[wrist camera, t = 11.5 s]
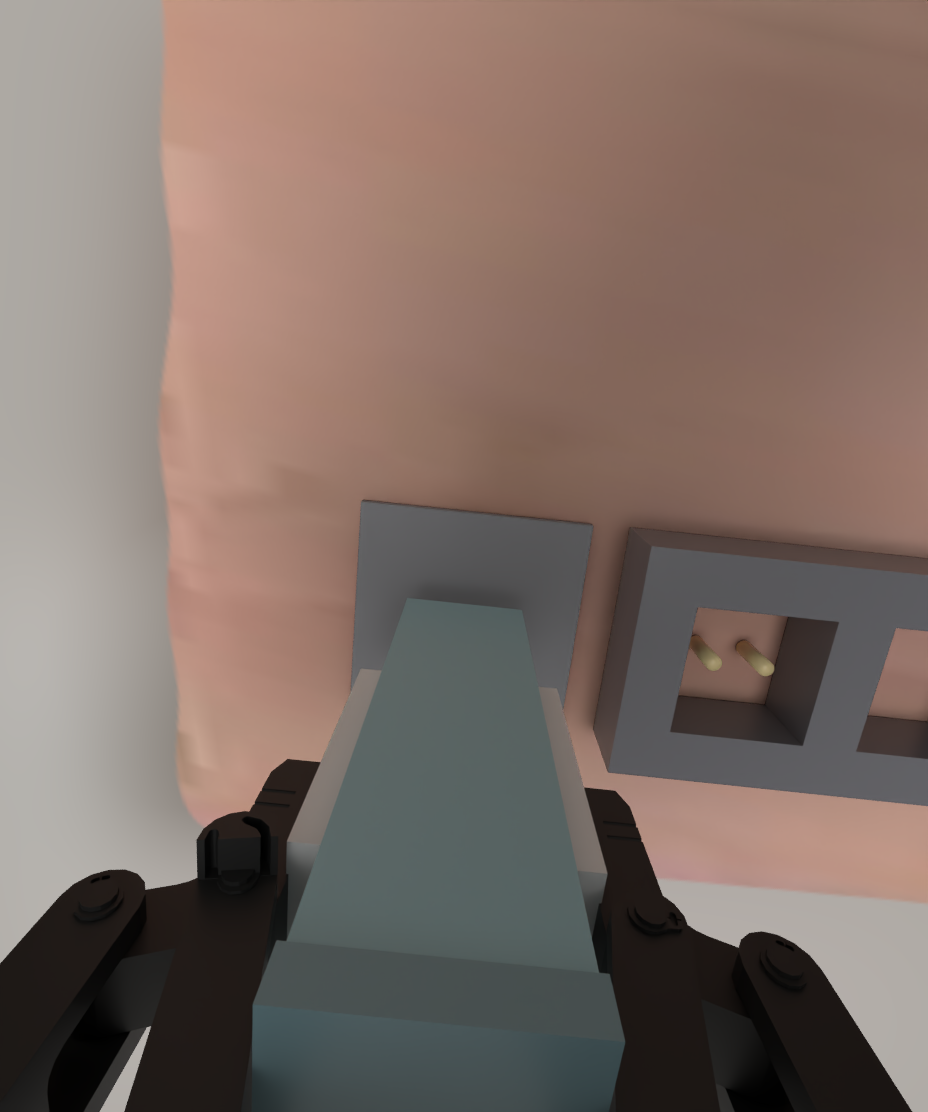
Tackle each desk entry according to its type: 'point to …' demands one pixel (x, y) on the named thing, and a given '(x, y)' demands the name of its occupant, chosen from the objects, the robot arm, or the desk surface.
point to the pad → (470, 576)
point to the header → (763, 668)
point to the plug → (442, 904)
